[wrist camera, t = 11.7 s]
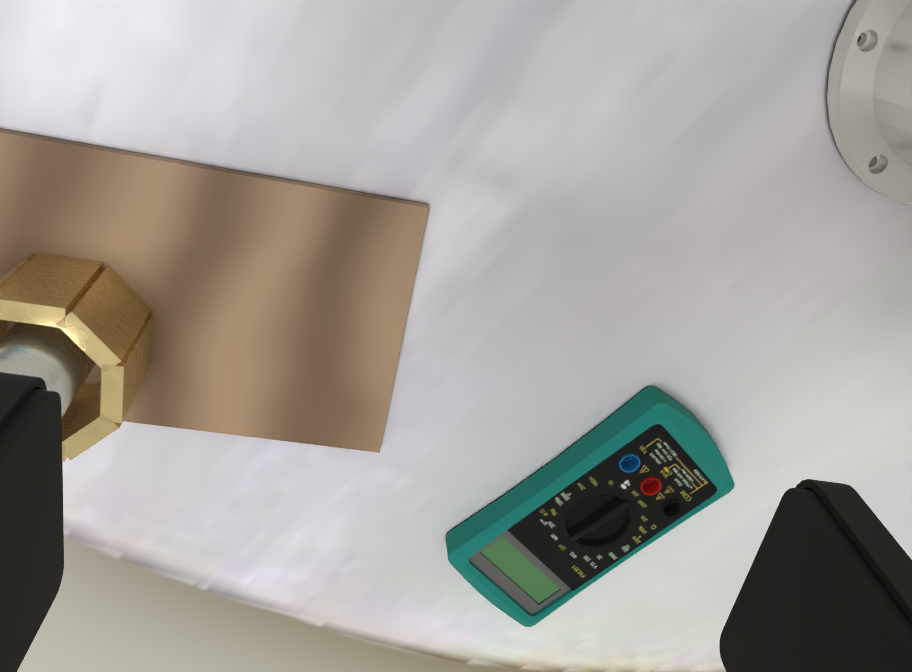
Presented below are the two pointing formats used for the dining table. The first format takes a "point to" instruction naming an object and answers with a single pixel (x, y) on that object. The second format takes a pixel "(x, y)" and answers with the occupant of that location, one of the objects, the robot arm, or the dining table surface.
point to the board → (231, 283)
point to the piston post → (46, 358)
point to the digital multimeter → (591, 508)
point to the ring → (85, 335)
